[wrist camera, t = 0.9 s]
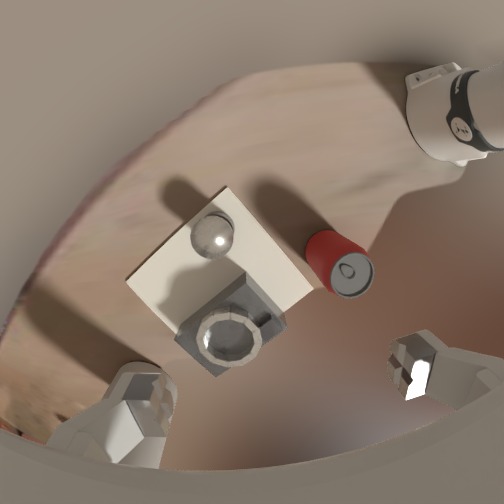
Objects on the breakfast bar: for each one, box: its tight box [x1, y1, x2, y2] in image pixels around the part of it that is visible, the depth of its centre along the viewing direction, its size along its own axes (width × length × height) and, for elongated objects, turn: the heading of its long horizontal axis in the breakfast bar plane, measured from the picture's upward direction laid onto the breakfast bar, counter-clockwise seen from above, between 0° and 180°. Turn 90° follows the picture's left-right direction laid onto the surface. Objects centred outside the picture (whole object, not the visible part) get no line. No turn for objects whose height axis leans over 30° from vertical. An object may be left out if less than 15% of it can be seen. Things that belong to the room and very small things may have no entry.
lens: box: [190, 211, 235, 259], centre depth 37 cm, size 5×5×7 cm
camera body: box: [174, 272, 288, 377], centre depth 41 cm, size 14×9×7 cm, turn 130°
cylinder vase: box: [102, 362, 178, 469], centre depth 36 cm, size 12×12×25 cm
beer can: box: [305, 230, 374, 299], centre depth 36 cm, size 7×7×12 cm
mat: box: [126, 187, 314, 334], centre depth 43 cm, size 22×20×1 cm
